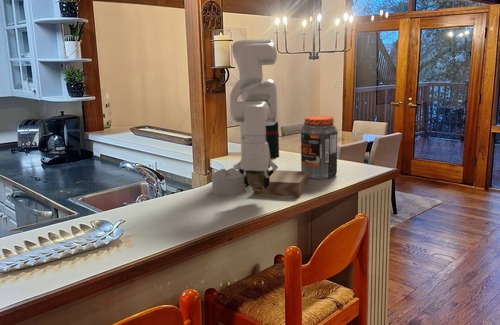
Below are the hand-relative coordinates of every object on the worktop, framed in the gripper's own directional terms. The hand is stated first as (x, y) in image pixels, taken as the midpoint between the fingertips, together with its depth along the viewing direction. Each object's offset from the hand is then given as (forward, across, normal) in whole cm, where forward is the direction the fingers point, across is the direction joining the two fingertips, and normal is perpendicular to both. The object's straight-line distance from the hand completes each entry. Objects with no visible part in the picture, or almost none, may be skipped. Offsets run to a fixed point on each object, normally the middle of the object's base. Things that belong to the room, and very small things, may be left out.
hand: (256, 186), depth 168 cm
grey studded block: (+6, -16, +11) cm, 20 cm away
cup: (+2, 0, 0) cm, 2 cm away
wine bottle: (+8, -16, +78) cm, 80 cm away
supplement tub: (+7, +16, +42) cm, 46 cm away
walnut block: (+7, +5, +17) cm, 19 cm away
